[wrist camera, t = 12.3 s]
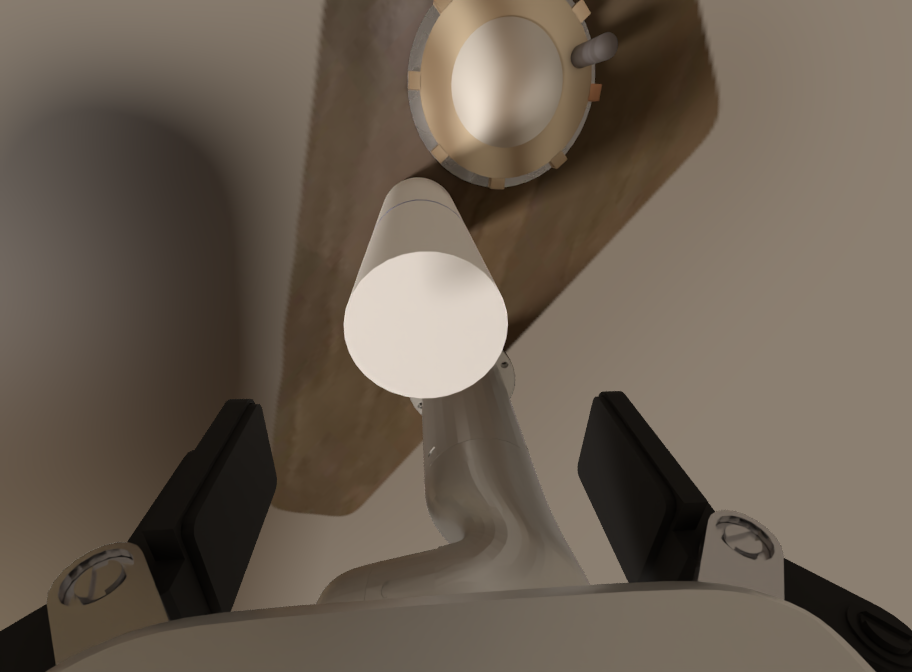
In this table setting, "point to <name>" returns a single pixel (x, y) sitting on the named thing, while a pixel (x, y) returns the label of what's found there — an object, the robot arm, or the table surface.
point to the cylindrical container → (424, 299)
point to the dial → (507, 82)
